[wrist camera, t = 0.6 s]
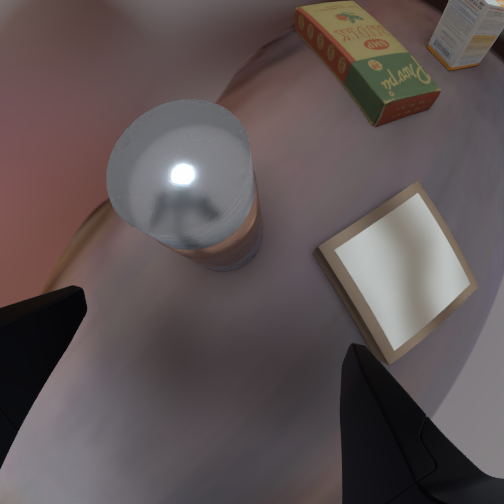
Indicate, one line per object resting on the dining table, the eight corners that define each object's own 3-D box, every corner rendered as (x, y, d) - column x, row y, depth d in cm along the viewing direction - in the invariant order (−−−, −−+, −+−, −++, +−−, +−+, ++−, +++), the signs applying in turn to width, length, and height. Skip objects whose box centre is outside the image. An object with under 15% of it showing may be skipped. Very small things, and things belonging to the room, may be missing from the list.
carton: (348, 22, 28) (354, -2, 24) (429, 112, 25) (445, 89, 21) (292, 32, 28) (294, 5, 23) (372, 129, 25) (386, 104, 21)
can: (210, 286, 23) (138, 267, 10) (174, 223, 24) (89, 150, 11) (277, 245, 23) (283, 178, 10) (237, 184, 24) (206, 77, 11)
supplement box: (456, 43, 26) (489, -15, 13) (478, 66, 26) (517, 10, 13) (424, 46, 26) (457, -24, 13) (448, 72, 25) (490, 3, 13)
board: (375, 358, 21) (390, 366, 18) (312, 253, 23) (318, 246, 20) (459, 288, 21) (479, 286, 18) (403, 193, 23) (418, 179, 20)
